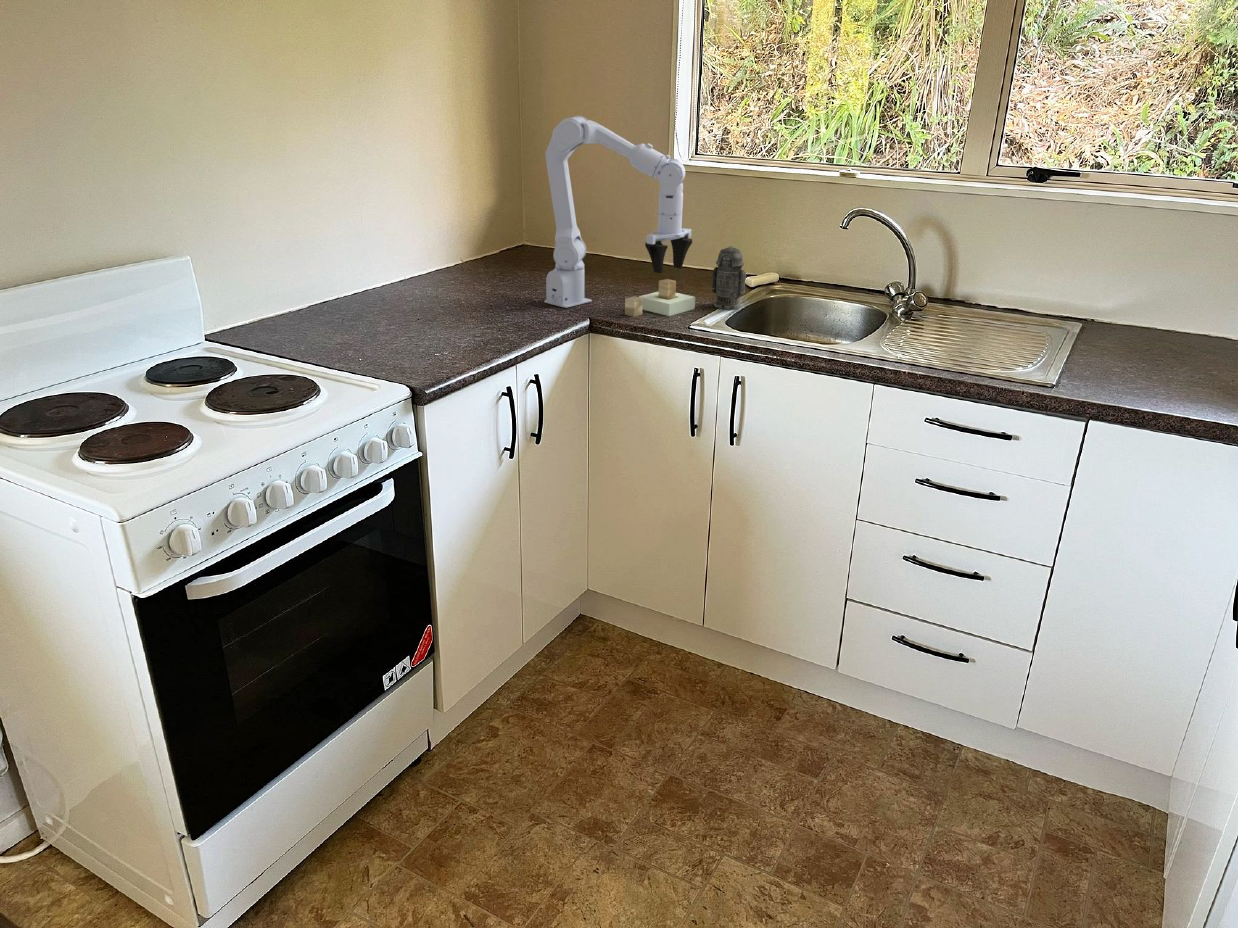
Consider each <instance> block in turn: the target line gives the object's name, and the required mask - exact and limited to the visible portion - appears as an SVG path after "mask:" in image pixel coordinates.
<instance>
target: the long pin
mask: <svg viewBox="0 0 1238 928" xmlns="http://www.w3.org/2000/svg"><path fill="white" fill-rule="evenodd" d="M676 289H677V281H676V280H672V279H669V278H665V279H661V280H658V291H659V293H658V298H662V299H666V300H670V299H674V298H675V295H676V293H677V292H676V291H677V290H676Z"/></svg>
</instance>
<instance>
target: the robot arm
mask: <svg viewBox="0 0 1238 928" xmlns="http://www.w3.org/2000/svg"><path fill="white" fill-rule="evenodd" d="M552 130H553V131H552V135H551V139H550V141H549V144H548V145H547V148H546V150H545V161H546V163H545V164H546V169H547V175H548V181H549V188H550V197H551V202H552V209H553V210H552V211H553V214H554V221H555V228H556V230H555V235H554V243H555V244H554V246H555V247H554V250H553V261H554V262H555V268H553V270H550V271H548V273H547V275H546V278H545V284H546V285H545V289H546V290H545V291H546V295H545V297H546V299H545V300H544V303H546V304H550V305H553V306H556V307H561V308H565V309H566V308H571V307H574V306H575V307H576V306H579V305H580V306H581V305H583V304H587V303H588V304H589V303H591V302H592V299H590V298H586V297H585V263H584V261H583V259H584V258H585V256H586V254H587V246H586V243H585V242H584V240H583V239H582V236H581V235H582V234H581V230H580V228H579V227H578V225H577V219H576V217H577V216H576V212H575V204H574V196H573V189H572V183H571V176H570V169H569V161H568V160H569V158H570V157H571V155H572V154H573V153H574V151H576V149H577V148H578V147H579V146H582V145H583V144H584V145H587V144H600V145H602V146H604V147H606V148H607V149H610V150H612V151H613V152H616V153H617V154H619V155H622V156H624V157H625V158H628V160H629V162H630V163H629V164H630V165H631V167H632V168H634V169H636V170H638V171H640V172H642V173H643V174H646V175H647V176H648V177H651V178H653V179H654V180H655V179H657V180H658V182H659V184H660V185H659V193H658V216H657V230H656V231H655V232H652V233H650V234H647V235H646V241H645V242H644V243H645V244H644V246H645V248H646V250H647V252H648V254H649V257H650V261H651V266H652V270H653V273H657V274H662V273H663V269H664V262H665V261H664V260H665V255H666V252H667V249H668V247H669V246H668V245H666V244H663V242H668V241H670V244H671V248H672V249H671V250H672V263H673V268H674V269H683V265H684V261H685V259H686V255H687V252H688V251H689V249H690V247H691V245H692V244H693V238H692V228H686V227H685V228H684V227H683V224H682V223H683V209H684V208H683V206H684V205H683V204H684V193H683V192H684V182H683V181H684V180H685V177H686V169H685V166H684V164H683V163H682V162H681V161H680V160H679V159H677V158H671V155H669V154H666V155H665V154H664V153H661V152H659V151H658V150H656V149H654V148H653V147H654V146H653V144H651V143H647V144H645V143H639V144H637V145H636V144H633V143H632V142H630V141H628V140H627V139H625V138H624V137H622V136H620V135H618V134H616V133H615V132H614V131H612V130H611V129H608V128H606V126H603V125H602V124H599V123H598V122H596V121H595V120H594V121H593V120H591V119H587V118H586V117H584V116H582V115H574V116H572V117H566V118H564V119H562V120H561V121H560V122H559V123H558V124H557V125H556V126H555V127H554V128H553V129H552ZM682 227H683V228H682Z"/></svg>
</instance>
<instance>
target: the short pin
mask: <svg viewBox="0 0 1238 928" xmlns="http://www.w3.org/2000/svg"><path fill="white" fill-rule="evenodd" d="M624 315H625V316H626V315H627V316H630V317H633V318H634V317H639V316H642V315H643V298H639V297H638V296H631V297H630V296H629V297H625V299H624Z"/></svg>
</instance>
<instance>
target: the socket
mask: <svg viewBox="0 0 1238 928" xmlns="http://www.w3.org/2000/svg"><path fill="white" fill-rule="evenodd" d="M658 293H659V290H658V291H655V292H652V293H648V294H643V295H639V296H637V297H639V298H643V309H642V311H648V312H652V313H654V314H659V315H663V316H666V317H670V316H675V315H678V314H681V313H685V312H688V311H692V310H695V309H696V296H692V295H688V294H685V293H679V292H676V295H675V298H674V299H670V300H666V299H662V298H658Z"/></svg>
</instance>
